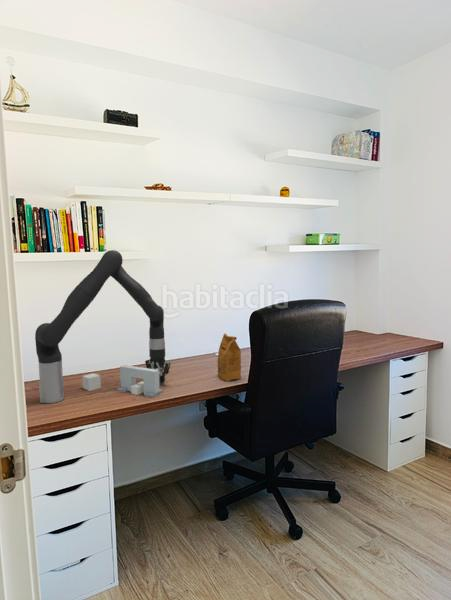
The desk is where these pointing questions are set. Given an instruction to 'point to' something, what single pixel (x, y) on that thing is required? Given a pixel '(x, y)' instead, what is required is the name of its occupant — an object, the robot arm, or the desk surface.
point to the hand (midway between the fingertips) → (158, 381)
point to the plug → (140, 387)
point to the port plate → (148, 376)
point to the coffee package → (229, 359)
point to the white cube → (91, 381)
